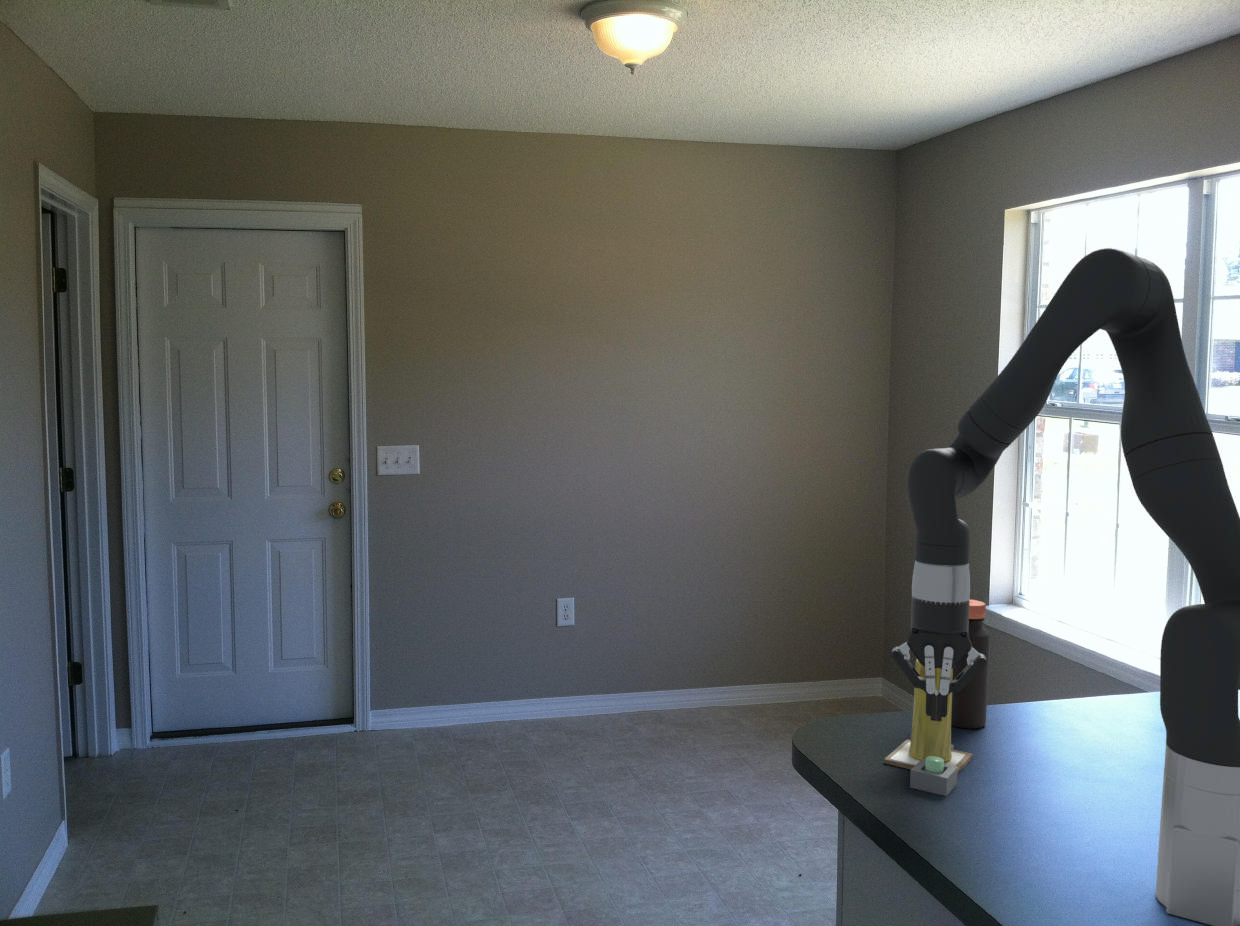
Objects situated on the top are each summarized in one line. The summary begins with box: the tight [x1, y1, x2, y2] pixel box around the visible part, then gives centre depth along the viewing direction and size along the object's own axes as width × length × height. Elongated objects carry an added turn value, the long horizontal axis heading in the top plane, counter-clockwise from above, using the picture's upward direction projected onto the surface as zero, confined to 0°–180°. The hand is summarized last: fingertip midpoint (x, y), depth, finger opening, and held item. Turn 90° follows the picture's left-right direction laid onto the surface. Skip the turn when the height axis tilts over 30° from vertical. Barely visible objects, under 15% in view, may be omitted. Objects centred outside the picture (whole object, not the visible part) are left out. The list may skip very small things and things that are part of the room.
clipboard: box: [883, 739, 974, 774], centre depth 154 cm, size 10×10×1 cm
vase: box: [909, 658, 953, 762], centre depth 153 cm, size 6×6×14 cm
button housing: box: [909, 759, 959, 797], centre depth 144 cm, size 5×5×2 cm
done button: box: [925, 756, 944, 774], centre depth 144 cm, size 2×2×3 cm
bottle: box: [951, 599, 991, 730], centre depth 170 cm, size 7×7×20 cm
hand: (936, 719), depth 143 cm, fingers closed
